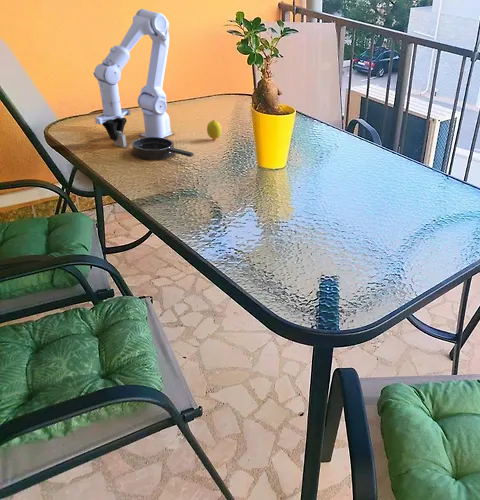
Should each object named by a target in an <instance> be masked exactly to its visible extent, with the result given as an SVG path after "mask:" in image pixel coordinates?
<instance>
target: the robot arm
mask: <svg viewBox="0 0 480 500" xmlns="http://www.w3.org/2000/svg"><path fill="white" fill-rule="evenodd" d="M169 27H170V22H169V21H168V19H167V17H166V16H165V15H164V14H163V13H161V12H156V11H152V10H147V9H145V8H140V9H138V10H137V11H136V13H135V15H133V16H132V23H131V25H130V27H129V28H128V30H127V31H126V33H125V35H124V36H123V38H122V40H121V42H120V44H118V45H113V46H112V47H110V49H109V52H108V54H107V55H106V57H105V59H103V60H102V62H101V63H99V64H97V65H96V67H94V72H93V73H92V74H93V76H94V78H95V80H97V84H98V87H99V92H100V99H101V105H102V106H101V107H102V111H103V113H101V114H99V115H98V116H96V117H94V122H95V124H97V125H102V126H103V127H104V129H105V130H106V132H107V134H108V136H109V139H110V140H111V141H113V142H114V141H116V140H117V133H116V131H121V132H122V134H124V129H125V125H126V124H127V118H126V116H128V117H129V116H131V110H130V109H129V108H128V109H127V108H123V109H122V106H121V99H120V92H119V91H120V90H119V84H118V83H119V82H120V81H121V78H122V75H121V74H122V70H123V69H124V68H125V66H126V64H128V62H129V61H130V59H131V54H130V52H131V51H132V50H133V48H134V47H135V46H136V45H137V44H138V43H139V41H140V40H141V38H142V37H143V36H147V35H148V36H149V38H150V39H151V41H152V43H151V51H150V57H149V63H148V71H147V78H146V84H145V85H144V86H142V87H141V89H140V93H139V95H138V97H137V105H138V107H140V109H141V112H142V117H143V124H144V125H143V127H144V132H143V133H140V137H142V138H145V137H160V138H166V137H169V136H171V135H173V132H172V131H171V119H170V115H169V114H168V113H167V109H168V104H167V94H166V93H165V91H164V89H163V85H164V80H165V73H166V67H167V61H168V54H169V47H170V33H169Z"/></svg>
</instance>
